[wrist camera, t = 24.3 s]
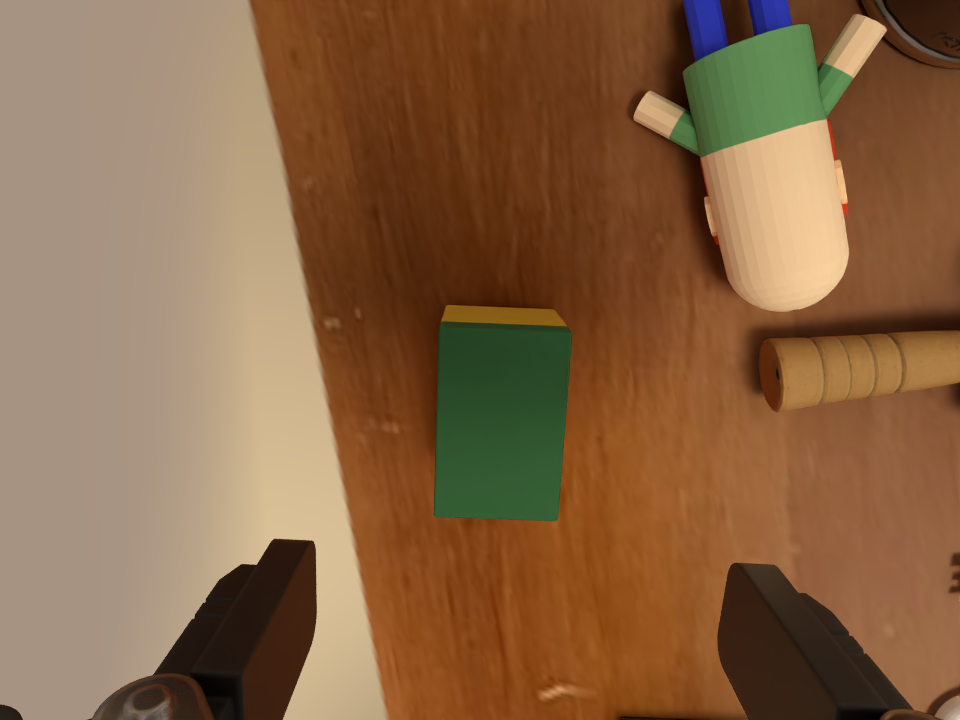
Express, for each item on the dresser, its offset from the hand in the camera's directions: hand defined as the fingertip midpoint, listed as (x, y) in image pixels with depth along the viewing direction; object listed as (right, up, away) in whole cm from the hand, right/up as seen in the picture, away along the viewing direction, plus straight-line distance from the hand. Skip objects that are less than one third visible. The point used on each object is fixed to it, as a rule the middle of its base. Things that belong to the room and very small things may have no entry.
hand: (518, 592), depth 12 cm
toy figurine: (+9, +13, +13) cm, 20 cm away
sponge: (0, +3, +15) cm, 15 cm away
